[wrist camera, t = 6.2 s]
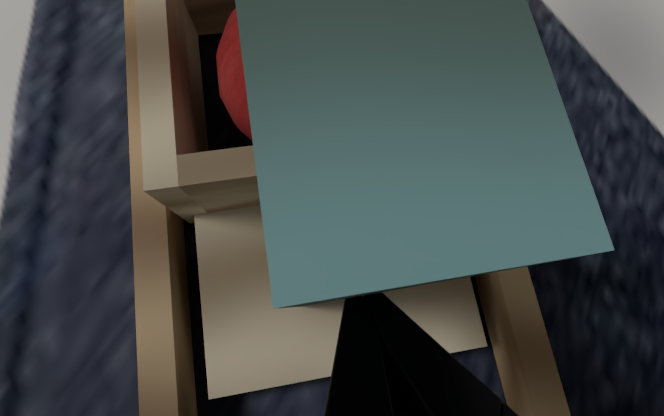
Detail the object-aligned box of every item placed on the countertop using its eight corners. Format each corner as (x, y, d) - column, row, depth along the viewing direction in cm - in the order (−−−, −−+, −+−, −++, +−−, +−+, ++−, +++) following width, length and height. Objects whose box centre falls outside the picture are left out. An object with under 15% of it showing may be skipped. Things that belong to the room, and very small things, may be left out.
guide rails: (565, 507, 14) (607, 539, 12) (173, 601, 12) (148, 656, 10) (423, -12, 19) (436, -47, 18) (142, 13, 18) (123, -23, 16)
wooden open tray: (485, 340, 15) (1159, 473, 3) (203, 394, 14) (-417, 913, 2) (398, -1, 19) (550, -514, 7) (174, 19, 18) (-91, -548, 6)
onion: (328, 52, 18) (342, -137, 10) (389, 149, 17) (456, 19, 9) (217, 100, 17) (142, -68, 9) (274, 208, 16) (242, 116, 8)
